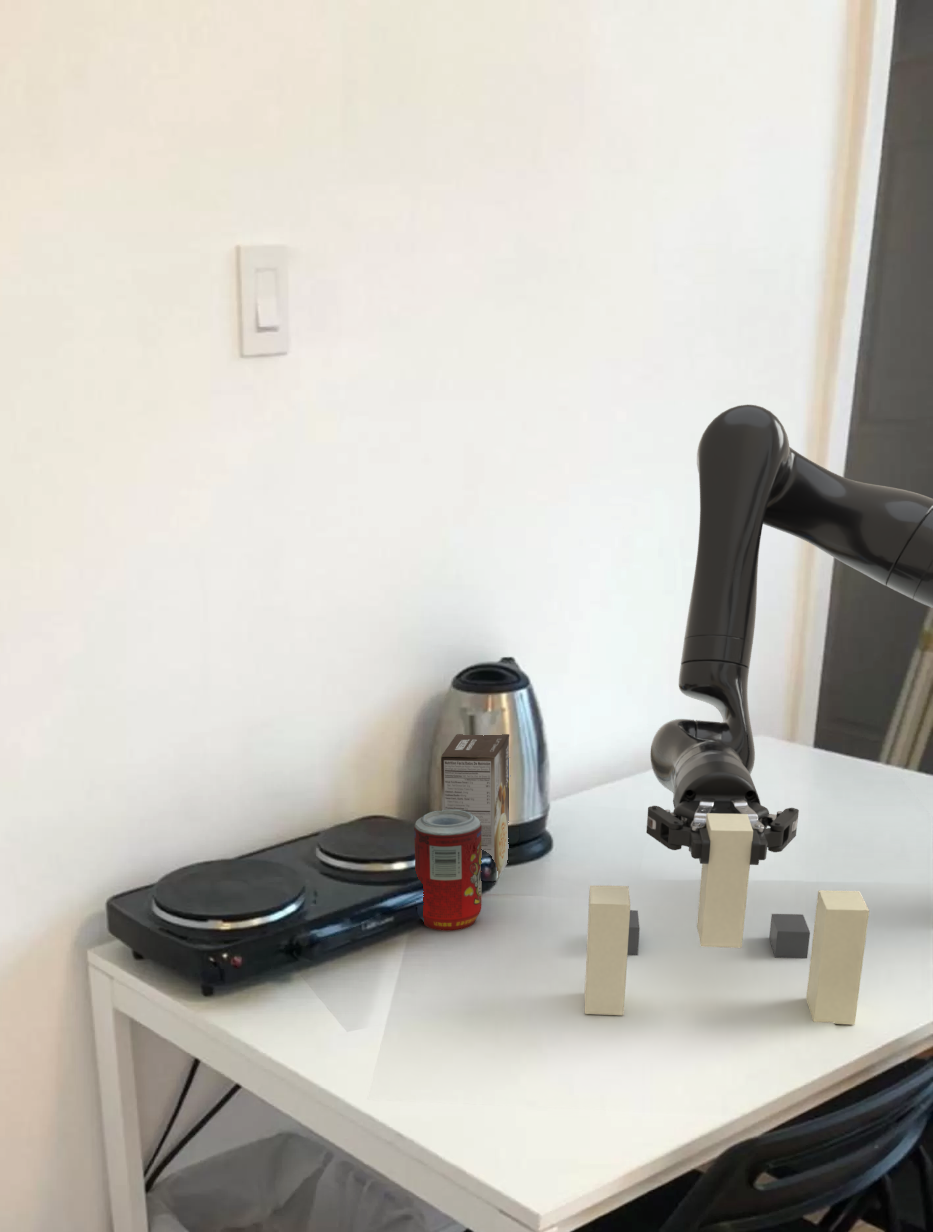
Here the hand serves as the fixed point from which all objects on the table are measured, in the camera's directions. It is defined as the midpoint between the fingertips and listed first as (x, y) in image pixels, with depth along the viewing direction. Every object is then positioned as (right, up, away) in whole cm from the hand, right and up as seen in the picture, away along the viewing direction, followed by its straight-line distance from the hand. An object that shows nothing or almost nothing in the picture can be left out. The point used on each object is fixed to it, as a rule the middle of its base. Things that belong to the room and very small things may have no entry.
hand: (730, 853), depth 130 cm
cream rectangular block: (-8, -13, +11) cm, 19 cm away
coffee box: (-13, +1, +46) cm, 48 cm away
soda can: (-19, -5, +33) cm, 38 cm away
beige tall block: (+11, -14, +6) cm, 19 cm away
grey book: (-3, -8, +23) cm, 24 cm away
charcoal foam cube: (+13, -8, +19) cm, 25 cm away
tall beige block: (+1, -7, +6) cm, 9 cm away
